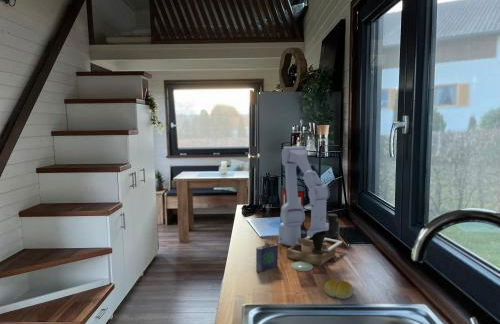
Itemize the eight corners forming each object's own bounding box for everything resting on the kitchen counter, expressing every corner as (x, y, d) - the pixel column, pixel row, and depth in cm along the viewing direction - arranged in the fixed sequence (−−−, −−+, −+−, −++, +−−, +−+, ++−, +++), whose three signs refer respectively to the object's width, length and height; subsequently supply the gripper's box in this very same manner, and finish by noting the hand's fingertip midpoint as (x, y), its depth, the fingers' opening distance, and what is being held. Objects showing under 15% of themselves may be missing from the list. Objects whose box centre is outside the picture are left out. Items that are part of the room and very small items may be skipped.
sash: (295, 243, 151) (295, 237, 151) (310, 235, 161) (310, 230, 161) (328, 251, 142) (328, 245, 142) (342, 242, 152) (342, 236, 152)
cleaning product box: (303, 229, 183) (304, 191, 181) (286, 230, 182) (286, 191, 180) (296, 220, 199) (296, 185, 197) (280, 221, 198) (280, 185, 196)
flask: (258, 273, 131) (258, 244, 130) (254, 270, 134) (254, 242, 133) (279, 267, 136) (279, 240, 135) (274, 265, 139) (274, 238, 137)
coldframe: (286, 257, 146) (286, 249, 146) (302, 248, 156) (302, 240, 156) (320, 266, 137) (320, 257, 136) (335, 256, 147) (335, 248, 147)
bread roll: (329, 285, 122) (329, 273, 122) (355, 291, 117) (355, 279, 117) (319, 294, 115) (320, 282, 115) (347, 302, 110) (347, 289, 110)
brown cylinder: (299, 258, 144) (299, 244, 144) (304, 254, 148) (304, 241, 147) (309, 260, 142) (309, 246, 141) (314, 257, 145) (314, 243, 145)
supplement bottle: (339, 242, 163) (340, 216, 162) (324, 241, 165) (324, 216, 163) (338, 237, 170) (339, 213, 168) (324, 237, 171) (324, 212, 170)
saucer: (287, 268, 135) (287, 266, 135) (298, 261, 142) (298, 259, 141) (306, 274, 130) (306, 271, 130) (316, 266, 137) (316, 264, 137)
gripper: (319, 221, 131) (318, 257, 133) (336, 213, 143) (335, 246, 144) (302, 218, 136) (301, 253, 137) (320, 210, 147) (319, 243, 149)
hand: (318, 249), depth 141 cm, fingers closed
